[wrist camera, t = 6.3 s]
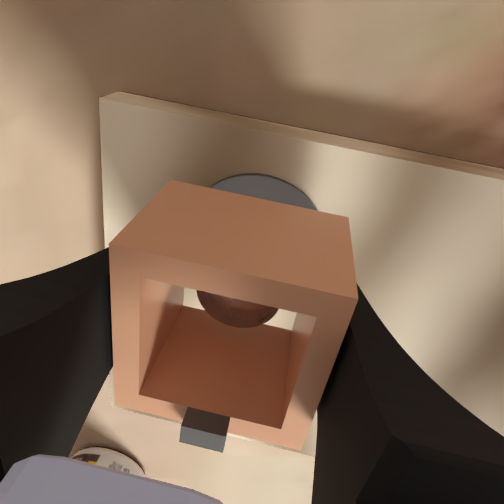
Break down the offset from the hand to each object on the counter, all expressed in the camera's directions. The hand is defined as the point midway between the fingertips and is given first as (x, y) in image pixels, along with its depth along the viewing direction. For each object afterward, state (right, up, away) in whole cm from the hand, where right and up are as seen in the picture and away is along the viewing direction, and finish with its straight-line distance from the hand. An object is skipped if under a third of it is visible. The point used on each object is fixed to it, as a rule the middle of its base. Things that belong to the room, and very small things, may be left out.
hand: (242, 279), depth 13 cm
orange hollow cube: (0, 0, +1) cm, 1 cm away
